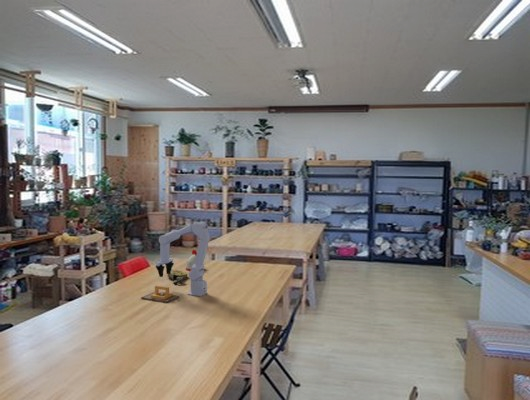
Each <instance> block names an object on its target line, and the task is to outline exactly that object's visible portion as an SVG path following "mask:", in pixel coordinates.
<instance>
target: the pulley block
mask: <svg viewBox="0 0 530 400" xmlns="http://www.w3.org/2000/svg"><path fill="white" fill-rule="evenodd" d="M188 276H189V273H188V272H186V271H184V270H178V269H171V273H170V274H167V276H166V277H168V278H169V279H171V280H172V281H173V282H172V283H173V284H174V285H176V284H180V283H181V282H182V281H184V280H187V279H188Z"/></svg>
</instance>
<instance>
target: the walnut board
mask: <svg viewBox="0 0 530 400" xmlns="http://www.w3.org/2000/svg"><path fill="white" fill-rule="evenodd" d="M153 294H155V291H153V292H151V293H149V294H146V295H143V296H141V297H140V299H141V300H145V301H151V300H152V302H158V303H159V302H160V303H165V304H168V303H170V302H173V301H174V300H177V299H179V298H180V295H178V294H177V295H176V294H173V296H171V297H169V298H167V299H164V300H162V299H155V298H151V295H153ZM159 296H161V295H159ZM163 296H165V295H163Z"/></svg>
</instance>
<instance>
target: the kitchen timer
mask: <svg viewBox="0 0 530 400" xmlns="http://www.w3.org/2000/svg"><path fill="white" fill-rule="evenodd" d="M191 254H192V255H191V256H189V258H188V259H187V260H186V263H185V270H186V271H187V272H190V271H191V269H192V266H193V265H194V263H195V259H196V255H197V250H195V249H193V250H192V251H191ZM203 265H204V263H203ZM204 266H205V265H204Z"/></svg>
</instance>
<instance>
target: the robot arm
mask: <svg viewBox="0 0 530 400" xmlns="http://www.w3.org/2000/svg"><path fill="white" fill-rule="evenodd" d="M189 232H190V233H192V232H193V233H194V234H195V235H196V236H197V237H198V238H199V243H198V247H197V250H196V252H197V255H196V259H195V263H194V265H193V266H192V269H191V271H188V277H189V280H190V292H188V293H187V295H191V296H196V297H202V296H204V295H206V294H208V291H207V290H208V284H207V283H208V282H207V281H206V280H205V279H204V278H203V277H204V276H205V265H203V264H204V263H205V259H206V254H207V250H208V245H209V243H210V232H209V225H208V224H207V223H206V221H200V222H194V223H191V224H188V225H186V226H184V227H182V228H180V229H179V230H178V229H171V231H169V232H166V233H165V234H163V235H162V234H161V235H160V236H159V238H158V243H159V244H160V246H159V247H160V249H159V253H160V255H159V259H160V260H158V262H156V263H155V264H156V265H155V268H156V270H157V273H158V277H160V278H162V277H163V276H164V270H165V271H166V274H167V275H168V274H170V273H171V270H173V269H172V268H173V267H174V265H175V262H174V258H173V259H172V258H170V249H171V248H170V247H171V243H172V242H174V241H176V240H178V239H180V237H181V235H185V234H186V233H189ZM164 265H165V266H164ZM165 268H166V269H165Z"/></svg>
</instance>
